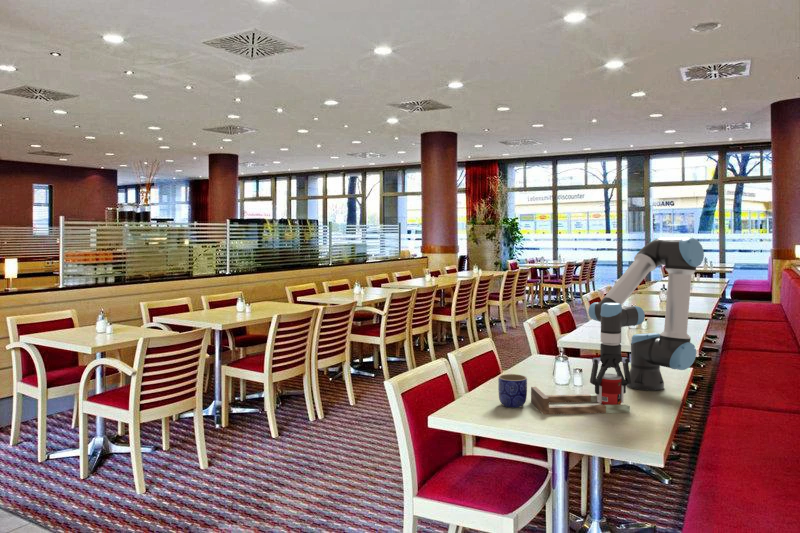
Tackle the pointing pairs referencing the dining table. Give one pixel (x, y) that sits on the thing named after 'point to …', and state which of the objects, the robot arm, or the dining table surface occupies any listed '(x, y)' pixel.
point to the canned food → (611, 389)
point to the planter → (512, 390)
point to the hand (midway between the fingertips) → (610, 401)
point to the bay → (543, 405)
